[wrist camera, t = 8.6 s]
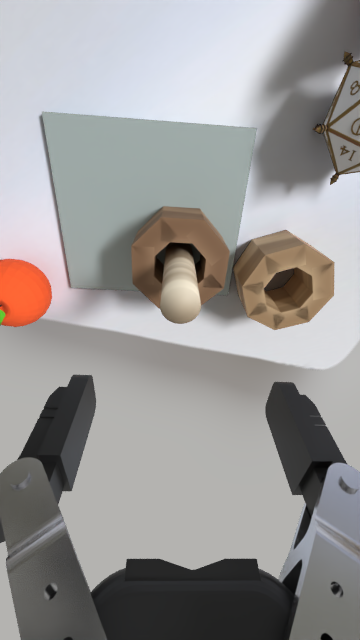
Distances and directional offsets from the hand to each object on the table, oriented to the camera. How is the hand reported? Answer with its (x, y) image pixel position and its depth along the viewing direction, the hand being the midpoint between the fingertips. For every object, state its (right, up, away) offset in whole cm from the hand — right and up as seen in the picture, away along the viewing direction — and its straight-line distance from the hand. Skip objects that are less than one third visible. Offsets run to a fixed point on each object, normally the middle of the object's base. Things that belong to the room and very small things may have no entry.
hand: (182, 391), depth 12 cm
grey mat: (-3, +14, +15) cm, 21 cm away
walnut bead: (0, +11, +17) cm, 20 cm away
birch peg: (0, +11, +17) cm, 20 cm away
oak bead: (+10, +9, +19) cm, 23 cm away
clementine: (-17, +8, +19) cm, 27 cm away
